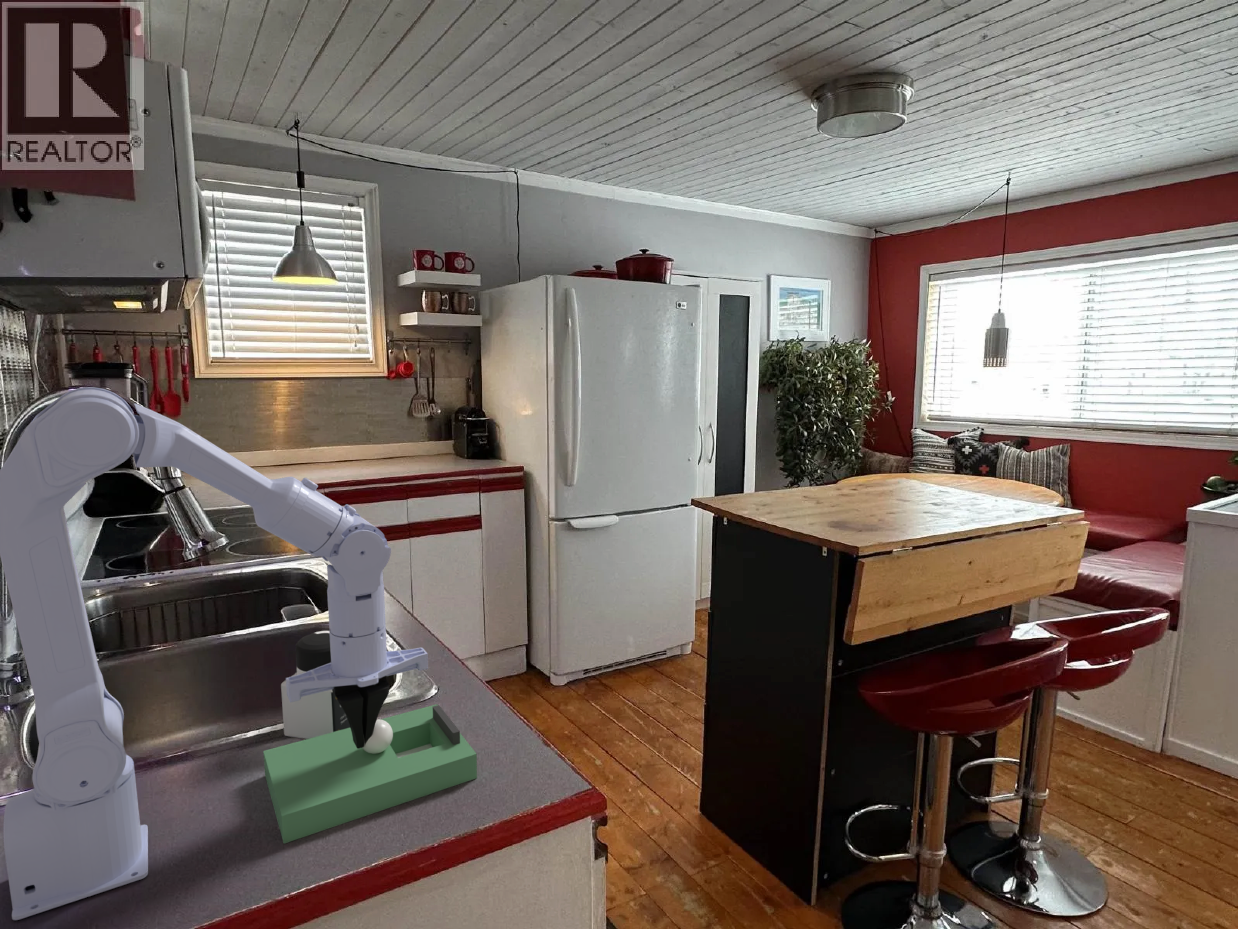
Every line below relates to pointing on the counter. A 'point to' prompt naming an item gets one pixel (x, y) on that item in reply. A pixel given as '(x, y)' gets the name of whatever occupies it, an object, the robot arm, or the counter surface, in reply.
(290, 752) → the green pocketed block
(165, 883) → the counter surface
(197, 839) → the counter surface
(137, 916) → the counter surface
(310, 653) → the medicine bottle
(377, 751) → the ball
